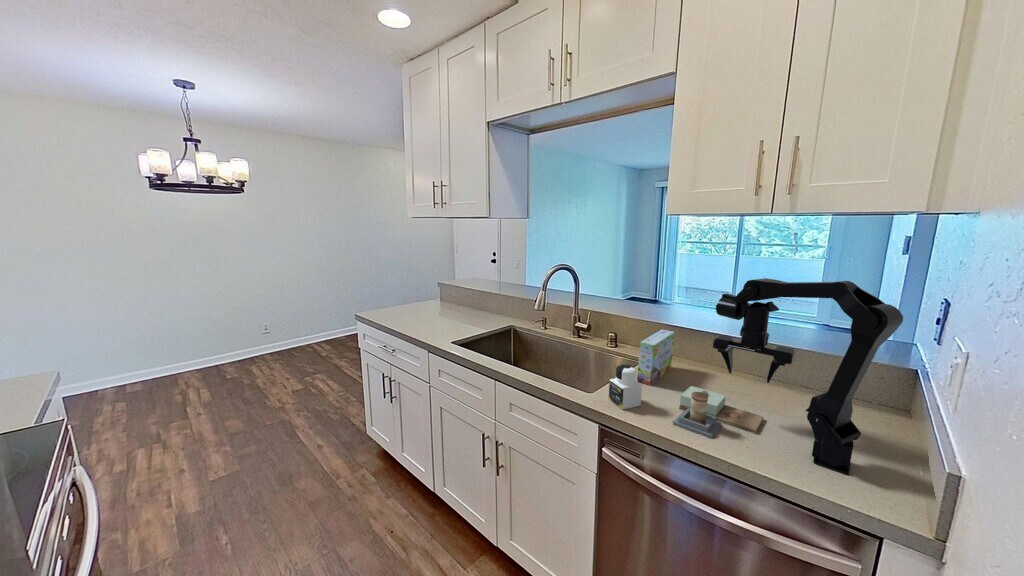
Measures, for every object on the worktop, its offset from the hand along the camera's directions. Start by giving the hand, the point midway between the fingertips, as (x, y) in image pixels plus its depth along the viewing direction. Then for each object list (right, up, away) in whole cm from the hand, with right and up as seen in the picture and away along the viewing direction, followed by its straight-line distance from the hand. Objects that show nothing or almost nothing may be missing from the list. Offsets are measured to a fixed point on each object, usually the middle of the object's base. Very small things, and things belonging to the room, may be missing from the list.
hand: (748, 377), depth 107 cm
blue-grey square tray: (-15, -13, 0) cm, 20 cm away
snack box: (-14, -7, +34) cm, 37 cm away
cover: (-9, -10, +9) cm, 16 cm away
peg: (-15, -12, 0) cm, 19 cm away
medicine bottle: (-31, -11, +13) cm, 36 cm away
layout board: (-5, -12, +6) cm, 14 cm away
